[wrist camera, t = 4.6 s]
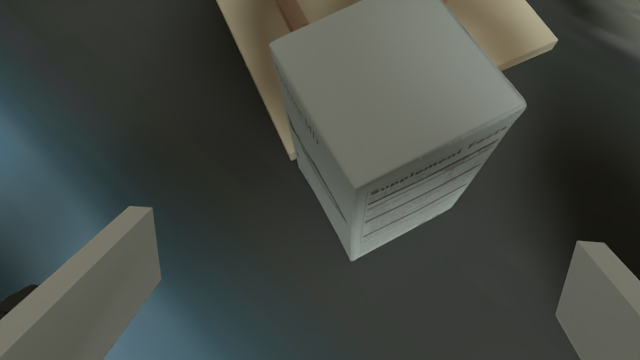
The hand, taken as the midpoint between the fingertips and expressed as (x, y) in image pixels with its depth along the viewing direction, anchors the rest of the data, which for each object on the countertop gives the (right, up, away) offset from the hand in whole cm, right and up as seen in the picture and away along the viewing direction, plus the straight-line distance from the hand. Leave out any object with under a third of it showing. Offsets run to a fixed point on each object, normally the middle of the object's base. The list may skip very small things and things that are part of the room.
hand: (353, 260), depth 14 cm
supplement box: (+2, +2, +14) cm, 15 cm away
